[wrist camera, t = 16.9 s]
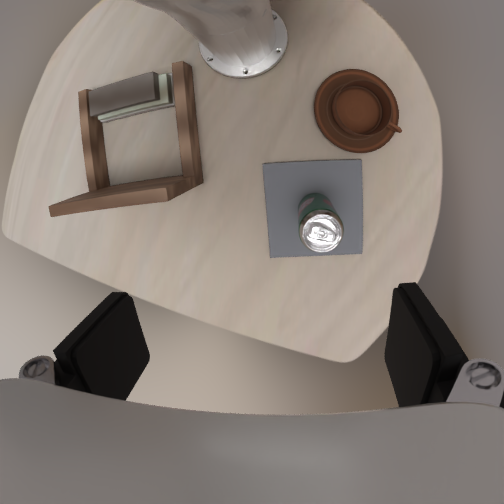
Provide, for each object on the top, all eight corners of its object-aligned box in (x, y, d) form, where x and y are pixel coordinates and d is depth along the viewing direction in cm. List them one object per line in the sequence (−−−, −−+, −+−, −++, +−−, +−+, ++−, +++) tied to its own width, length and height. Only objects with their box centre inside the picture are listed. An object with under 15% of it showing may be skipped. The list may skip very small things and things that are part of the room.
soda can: (305, 186, 43) (309, 203, 32) (337, 199, 43) (352, 221, 32) (292, 219, 45) (291, 246, 34) (324, 231, 45) (334, 262, 34)
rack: (92, 93, 42) (35, 88, 29) (191, 66, 40) (152, 42, 27) (103, 195, 48) (50, 217, 35) (203, 182, 46) (167, 201, 33)
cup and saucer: (396, 80, 37) (410, 72, 31) (390, 158, 41) (404, 161, 35) (315, 66, 38) (319, 55, 32) (310, 146, 42) (312, 147, 36)
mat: (262, 163, 44) (262, 164, 43) (360, 159, 41) (361, 159, 41) (270, 256, 48) (270, 257, 48) (361, 252, 46) (362, 253, 46)
